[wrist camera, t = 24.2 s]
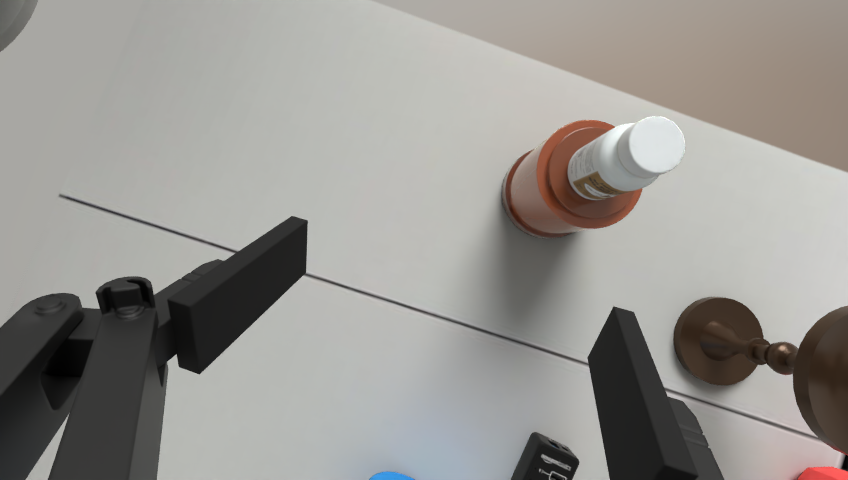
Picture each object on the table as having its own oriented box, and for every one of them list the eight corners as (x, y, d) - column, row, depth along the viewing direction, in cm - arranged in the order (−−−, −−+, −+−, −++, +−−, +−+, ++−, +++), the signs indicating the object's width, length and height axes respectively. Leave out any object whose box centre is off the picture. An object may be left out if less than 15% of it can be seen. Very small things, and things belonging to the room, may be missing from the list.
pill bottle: (566, 200, 30) (621, 181, 22) (565, 145, 30) (620, 106, 22) (621, 201, 30) (695, 182, 22) (620, 146, 30) (693, 108, 23)
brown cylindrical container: (484, 182, 40) (511, 156, 30) (555, 133, 41) (607, 90, 30) (535, 255, 40) (581, 255, 30) (606, 205, 41) (675, 187, 30)
